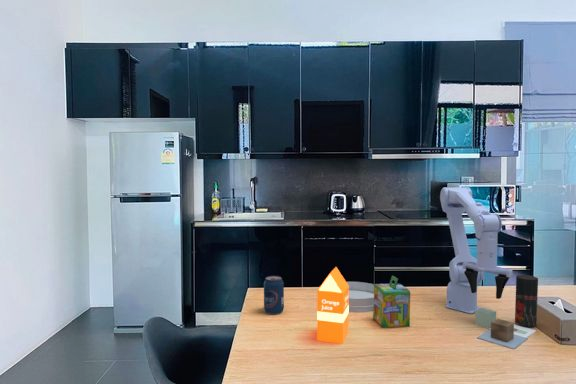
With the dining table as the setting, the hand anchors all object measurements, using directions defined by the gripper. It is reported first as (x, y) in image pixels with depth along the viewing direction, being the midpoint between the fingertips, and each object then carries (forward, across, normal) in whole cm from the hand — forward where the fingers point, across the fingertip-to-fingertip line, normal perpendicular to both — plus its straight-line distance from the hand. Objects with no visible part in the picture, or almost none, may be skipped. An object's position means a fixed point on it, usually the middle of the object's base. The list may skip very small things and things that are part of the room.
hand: (486, 295), depth 128 cm
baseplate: (+9, +8, -8) cm, 14 cm away
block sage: (+10, 0, 0) cm, 10 cm away
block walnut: (+9, +8, -8) cm, 14 cm away
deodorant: (+10, +8, +10) cm, 16 cm away
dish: (+10, -42, -14) cm, 45 cm away
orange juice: (+10, -26, -42) cm, 51 cm away
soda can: (+10, -54, -42) cm, 69 cm away
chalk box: (+10, -21, -20) cm, 31 cm away
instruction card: (+9, +9, +2) cm, 13 cm away
